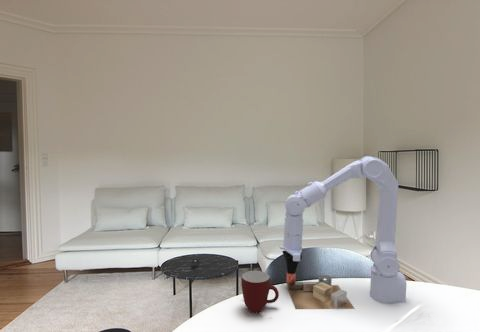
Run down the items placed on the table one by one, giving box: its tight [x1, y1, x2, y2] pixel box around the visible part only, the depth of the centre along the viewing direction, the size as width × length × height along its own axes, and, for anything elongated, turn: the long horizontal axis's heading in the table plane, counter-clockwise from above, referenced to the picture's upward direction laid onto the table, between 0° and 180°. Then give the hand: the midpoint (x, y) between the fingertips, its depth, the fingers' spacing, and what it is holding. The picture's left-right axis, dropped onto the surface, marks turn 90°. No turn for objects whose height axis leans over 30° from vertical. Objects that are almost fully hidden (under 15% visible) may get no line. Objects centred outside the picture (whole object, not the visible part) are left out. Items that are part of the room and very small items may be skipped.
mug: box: [240, 270, 280, 315], centre depth 92 cm, size 11×8×10 cm
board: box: [286, 284, 356, 310], centre depth 99 cm, size 17×15×1 cm
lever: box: [285, 272, 332, 291], centre depth 104 cm, size 14×5×5 cm, turn 92°
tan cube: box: [313, 282, 332, 302], centre depth 98 cm, size 4×4×4 cm
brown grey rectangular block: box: [330, 288, 348, 310], centre depth 94 cm, size 5×2×4 cm, turn 130°
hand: (290, 274), depth 104 cm, fingers closed, pressing on lever
